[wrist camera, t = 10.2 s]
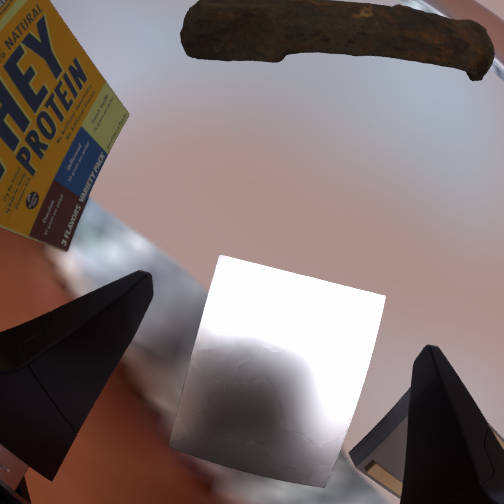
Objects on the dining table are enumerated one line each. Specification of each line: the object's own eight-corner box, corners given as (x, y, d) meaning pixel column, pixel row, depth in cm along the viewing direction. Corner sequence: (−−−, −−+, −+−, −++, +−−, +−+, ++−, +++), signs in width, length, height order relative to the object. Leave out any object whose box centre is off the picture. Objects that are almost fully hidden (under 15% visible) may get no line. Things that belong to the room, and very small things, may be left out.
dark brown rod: (460, 50, 19) (481, 7, 13) (479, 90, 18) (508, 46, 12) (195, 36, 21) (178, -16, 16) (187, 75, 20) (165, 19, 15)
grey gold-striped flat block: (514, 460, 12) (532, 469, 10) (455, 526, 11) (469, 541, 9) (424, 369, 14) (443, 375, 12) (348, 452, 14) (357, 470, 12)
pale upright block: (330, 308, 16) (385, 296, 7) (303, 402, 15) (324, 487, 6) (253, 289, 16) (219, 254, 8) (228, 382, 15) (168, 446, 7)
